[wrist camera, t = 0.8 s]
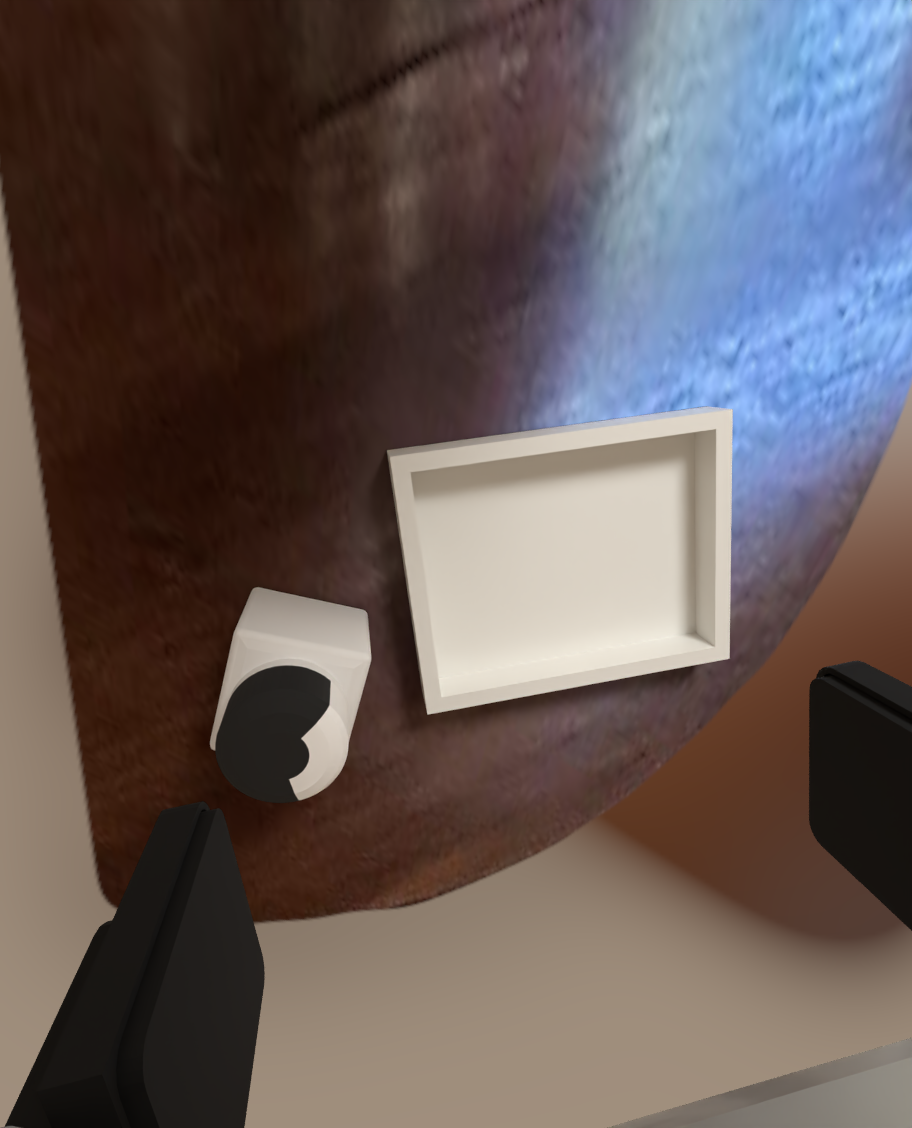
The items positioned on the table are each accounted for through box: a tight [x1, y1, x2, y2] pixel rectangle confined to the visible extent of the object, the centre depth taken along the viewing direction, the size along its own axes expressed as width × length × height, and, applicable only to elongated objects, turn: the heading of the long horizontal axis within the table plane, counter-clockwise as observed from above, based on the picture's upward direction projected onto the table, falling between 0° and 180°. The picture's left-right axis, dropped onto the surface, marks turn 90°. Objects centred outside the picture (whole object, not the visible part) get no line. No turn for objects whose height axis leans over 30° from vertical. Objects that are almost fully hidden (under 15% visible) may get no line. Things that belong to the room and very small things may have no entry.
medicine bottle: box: [210, 587, 371, 803], centre depth 36 cm, size 7×7×12 cm
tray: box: [387, 406, 733, 715], centre depth 41 cm, size 16×20×3 cm
